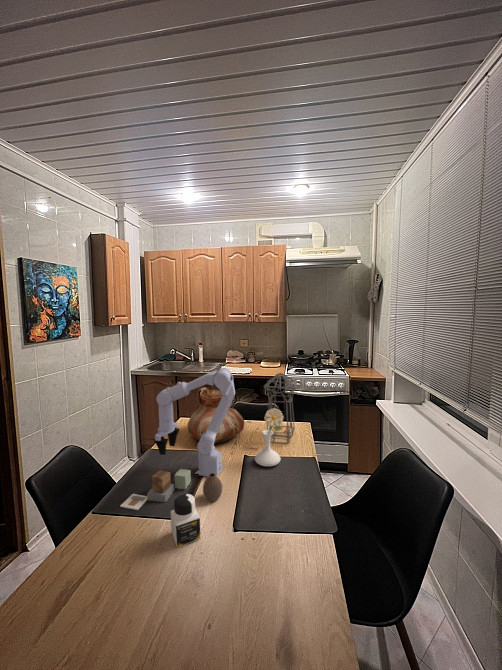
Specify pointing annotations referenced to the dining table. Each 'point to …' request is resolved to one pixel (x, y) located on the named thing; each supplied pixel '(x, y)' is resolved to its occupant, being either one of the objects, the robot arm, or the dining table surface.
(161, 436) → the robot arm
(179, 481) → the sage block
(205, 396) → the jug
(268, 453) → the flower in vase
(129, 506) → the card
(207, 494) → the brown coconut
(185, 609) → the dining table surface
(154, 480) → the walnut block
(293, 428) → the geometric lantern
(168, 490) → the grey square block
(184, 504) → the medicine bottle
